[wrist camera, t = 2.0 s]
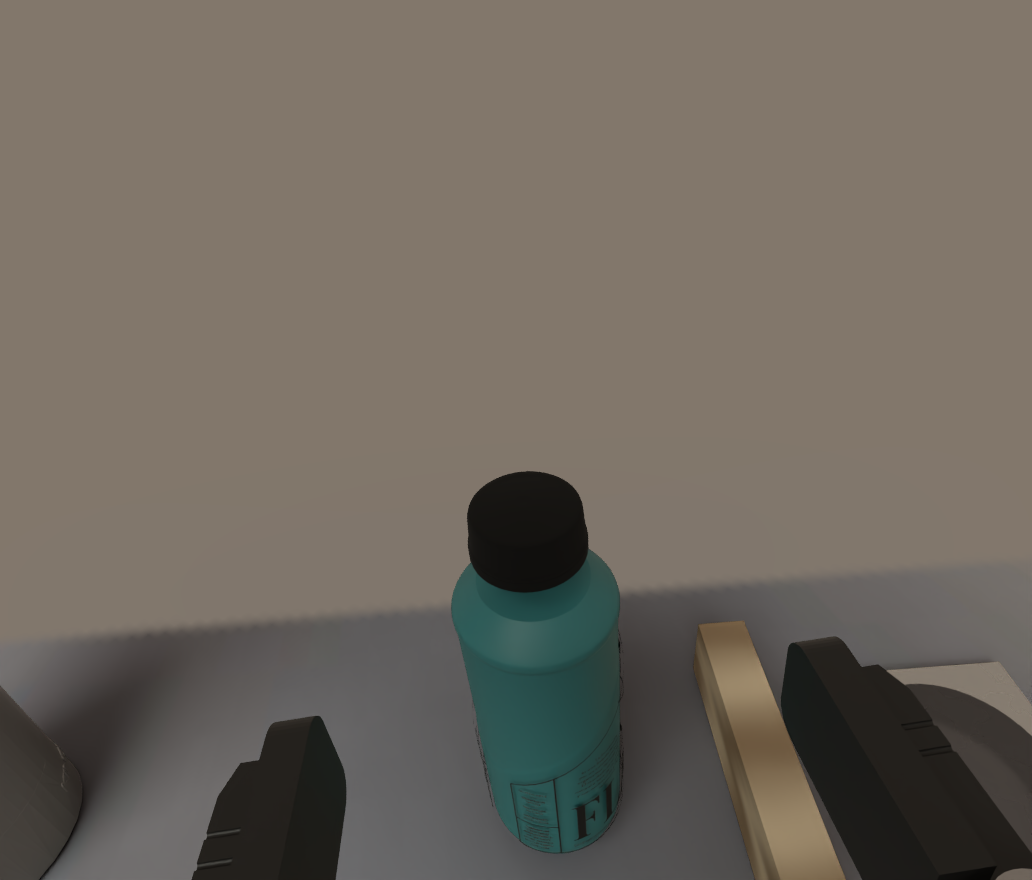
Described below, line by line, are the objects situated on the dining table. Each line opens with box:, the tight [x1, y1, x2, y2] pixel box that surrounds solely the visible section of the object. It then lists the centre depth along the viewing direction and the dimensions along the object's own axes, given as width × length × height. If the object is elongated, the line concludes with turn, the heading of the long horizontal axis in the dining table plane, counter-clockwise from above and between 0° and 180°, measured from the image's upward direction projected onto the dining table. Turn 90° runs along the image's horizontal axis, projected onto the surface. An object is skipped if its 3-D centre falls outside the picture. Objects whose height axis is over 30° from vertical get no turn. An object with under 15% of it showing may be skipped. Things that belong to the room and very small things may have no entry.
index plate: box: [886, 662, 1032, 853], centre depth 32 cm, size 11×11×1 cm
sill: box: [693, 621, 846, 880], centre depth 31 cm, size 14×2×4 cm, turn 1°
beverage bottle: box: [451, 471, 624, 853], centre depth 27 cm, size 6×7×20 cm
